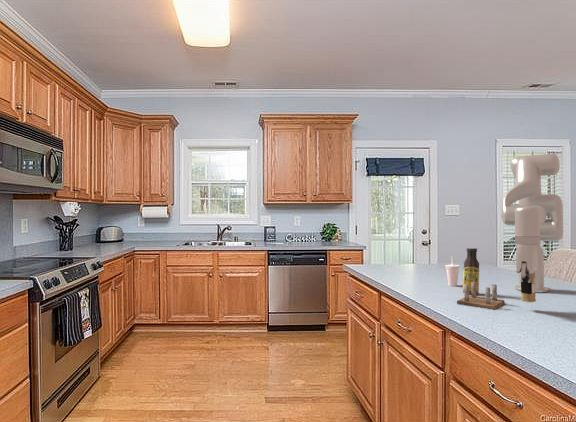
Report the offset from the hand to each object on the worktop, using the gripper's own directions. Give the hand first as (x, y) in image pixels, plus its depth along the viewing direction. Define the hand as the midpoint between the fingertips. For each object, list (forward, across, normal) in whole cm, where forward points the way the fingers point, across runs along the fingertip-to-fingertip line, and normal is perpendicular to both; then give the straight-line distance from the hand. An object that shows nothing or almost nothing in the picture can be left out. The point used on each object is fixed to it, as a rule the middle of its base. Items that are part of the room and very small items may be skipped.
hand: (528, 291), depth 136 cm
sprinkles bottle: (+4, 0, 0) cm, 4 cm away
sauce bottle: (+7, -15, -25) cm, 30 cm away
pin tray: (+7, +1, -16) cm, 17 cm away
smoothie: (+8, -28, -38) cm, 48 cm away
